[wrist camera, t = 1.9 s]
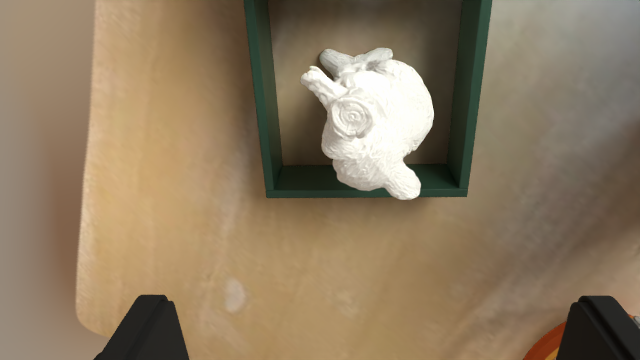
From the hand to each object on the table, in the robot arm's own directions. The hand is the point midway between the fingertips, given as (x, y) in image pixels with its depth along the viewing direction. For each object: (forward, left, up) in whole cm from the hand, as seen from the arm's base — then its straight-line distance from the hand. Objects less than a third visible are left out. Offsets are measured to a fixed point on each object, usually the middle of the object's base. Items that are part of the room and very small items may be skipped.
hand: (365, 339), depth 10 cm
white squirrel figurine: (-1, -1, -21) cm, 21 cm away
